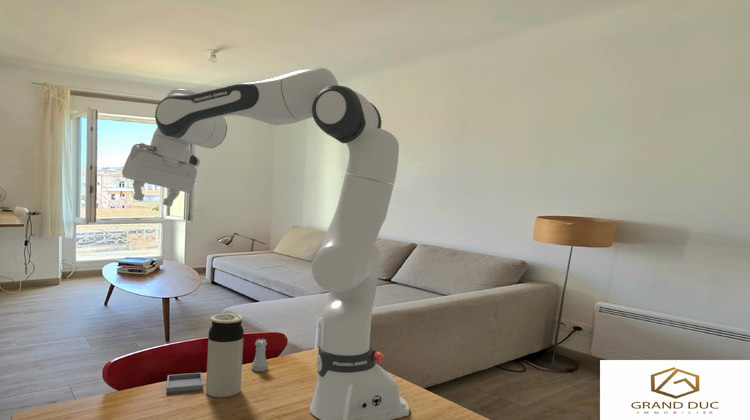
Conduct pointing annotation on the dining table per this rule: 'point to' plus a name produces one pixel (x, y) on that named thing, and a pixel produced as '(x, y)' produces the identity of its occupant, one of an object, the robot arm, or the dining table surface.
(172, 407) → the dining table surface
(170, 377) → the tray
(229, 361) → the travel mug
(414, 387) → the dining table surface
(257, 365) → the rook chess piece
